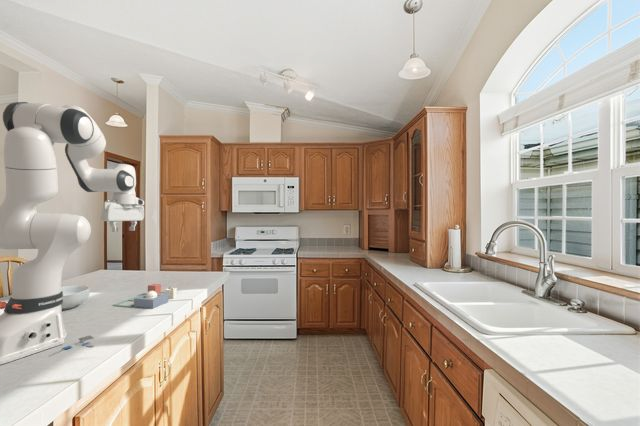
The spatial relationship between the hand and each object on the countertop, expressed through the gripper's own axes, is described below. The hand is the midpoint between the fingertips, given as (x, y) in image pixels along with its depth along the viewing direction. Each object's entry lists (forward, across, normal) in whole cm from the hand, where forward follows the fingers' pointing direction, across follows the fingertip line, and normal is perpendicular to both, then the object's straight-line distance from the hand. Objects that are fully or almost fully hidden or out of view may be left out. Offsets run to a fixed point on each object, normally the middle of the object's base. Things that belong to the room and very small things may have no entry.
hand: (123, 231), depth 138 cm
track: (+30, +2, -9) cm, 32 cm away
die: (+30, +7, -19) cm, 37 cm away
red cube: (+30, +10, -9) cm, 33 cm away
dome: (+30, -4, -18) cm, 35 cm away
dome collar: (+31, -4, -18) cm, 36 cm away
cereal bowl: (+31, -16, +12) cm, 37 cm away
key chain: (+32, -43, -27) cm, 60 cm away
